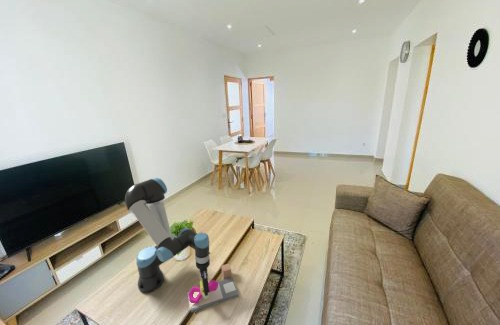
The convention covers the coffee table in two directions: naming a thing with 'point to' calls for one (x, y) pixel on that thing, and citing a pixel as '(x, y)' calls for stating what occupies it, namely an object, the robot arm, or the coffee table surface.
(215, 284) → the toy
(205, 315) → the coffee table surface
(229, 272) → the terracotta block
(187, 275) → the coffee table surface
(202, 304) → the foundation slab
